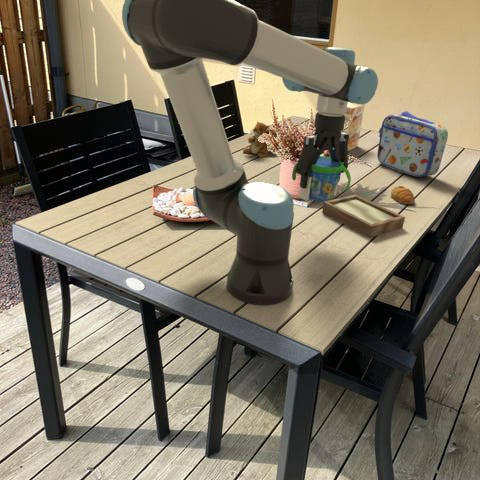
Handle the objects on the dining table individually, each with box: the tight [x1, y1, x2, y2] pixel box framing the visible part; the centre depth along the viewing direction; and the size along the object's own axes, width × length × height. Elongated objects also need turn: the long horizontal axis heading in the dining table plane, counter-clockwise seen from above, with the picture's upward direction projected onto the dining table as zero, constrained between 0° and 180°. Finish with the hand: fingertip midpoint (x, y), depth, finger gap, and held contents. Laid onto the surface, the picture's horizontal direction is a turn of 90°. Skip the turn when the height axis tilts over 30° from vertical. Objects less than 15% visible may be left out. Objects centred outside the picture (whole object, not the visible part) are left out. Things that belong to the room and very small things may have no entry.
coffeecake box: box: [342, 102, 366, 153], centre depth 218 cm, size 15×7×20 cm, turn 147°
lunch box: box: [376, 111, 449, 178], centre depth 193 cm, size 28×10×22 cm, turn 34°
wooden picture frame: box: [322, 194, 406, 238], centre depth 151 cm, size 14×20×4 cm
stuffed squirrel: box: [242, 121, 277, 158], centre depth 206 cm, size 10×14×13 cm
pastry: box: [390, 185, 416, 205], centre depth 168 cm, size 9×7×4 cm
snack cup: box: [291, 155, 352, 203], centre depth 133 cm, size 16×10×10 cm
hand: (318, 196), depth 135 cm, fingers closed on snack cup, 9 cm apart
